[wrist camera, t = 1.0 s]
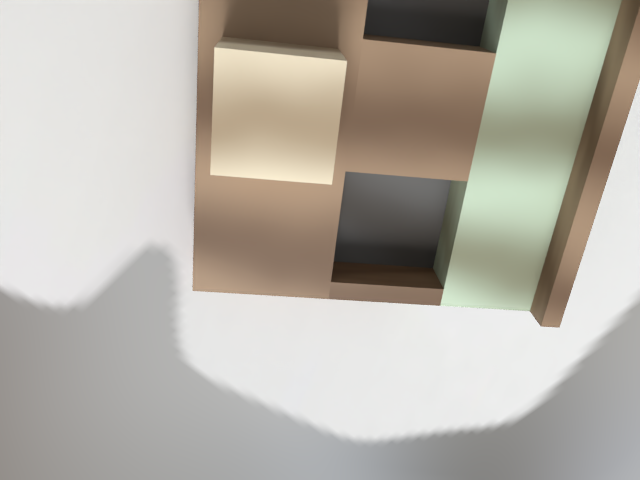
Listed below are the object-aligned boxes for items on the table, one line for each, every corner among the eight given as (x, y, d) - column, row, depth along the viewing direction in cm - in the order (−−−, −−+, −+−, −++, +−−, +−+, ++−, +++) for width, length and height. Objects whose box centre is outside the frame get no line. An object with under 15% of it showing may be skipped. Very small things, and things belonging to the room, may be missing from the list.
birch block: (222, 36, 25) (214, 47, 22) (338, 48, 26) (347, 60, 23) (217, 150, 27) (210, 174, 24) (325, 159, 28) (332, 184, 25)
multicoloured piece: (210, -163, 25) (198, -187, 21) (638, -103, 27) (702, -115, 23) (199, 263, 33) (188, 306, 29) (526, 285, 35) (559, 327, 31)
